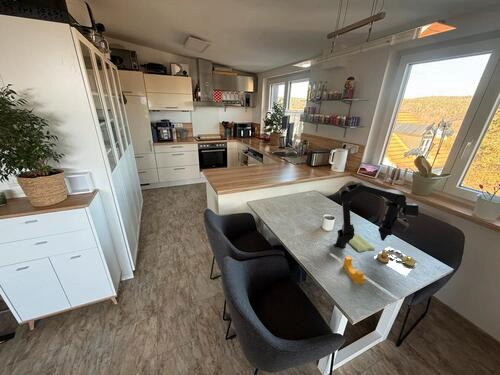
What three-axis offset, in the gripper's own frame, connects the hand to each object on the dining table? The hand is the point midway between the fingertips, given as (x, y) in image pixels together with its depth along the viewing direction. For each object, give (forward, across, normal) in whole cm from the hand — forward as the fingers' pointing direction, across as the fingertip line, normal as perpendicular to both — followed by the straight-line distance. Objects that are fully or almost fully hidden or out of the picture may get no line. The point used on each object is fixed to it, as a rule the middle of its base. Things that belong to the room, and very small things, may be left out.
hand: (384, 236), depth 115 cm
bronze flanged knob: (+11, -5, -3) cm, 13 cm away
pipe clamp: (+13, -27, +7) cm, 30 cm away
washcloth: (+13, +1, +12) cm, 18 cm away
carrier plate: (+12, 0, -9) cm, 15 cm away
